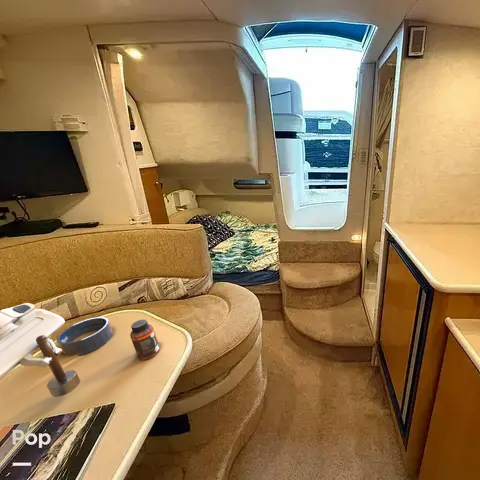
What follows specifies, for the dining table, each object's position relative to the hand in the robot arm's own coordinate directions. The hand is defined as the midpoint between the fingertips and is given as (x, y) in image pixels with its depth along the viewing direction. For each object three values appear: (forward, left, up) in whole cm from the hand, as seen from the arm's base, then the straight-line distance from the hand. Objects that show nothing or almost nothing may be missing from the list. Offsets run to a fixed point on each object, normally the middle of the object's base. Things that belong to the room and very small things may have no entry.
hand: (54, 358), depth 66 cm
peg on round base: (-1, 0, -9) cm, 9 cm away
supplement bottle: (+6, +17, -12) cm, 22 cm away
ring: (-19, +14, -12) cm, 27 cm away
